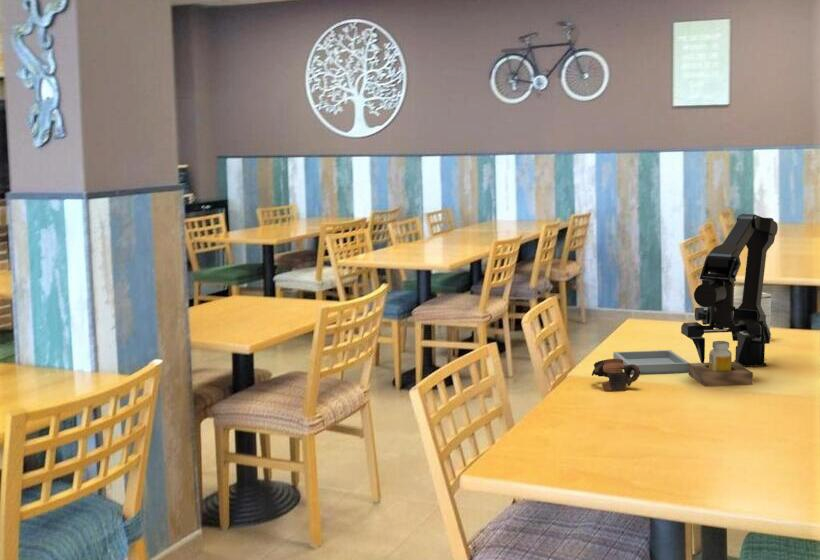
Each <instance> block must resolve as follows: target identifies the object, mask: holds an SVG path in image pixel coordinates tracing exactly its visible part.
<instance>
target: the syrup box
mask: <svg viewBox="0 0 820 560" xmlns="http://www.w3.org/2000/svg"><path fill="white" fill-rule="evenodd" d="M761 307H762V309H763V311H764V313H765V315H766V324H767V326H768V328H769V331H770V332H771V311H772V294H771V293H767V292H762V297H761ZM760 338H761V337H760Z"/></svg>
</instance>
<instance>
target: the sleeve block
mask: <svg viewBox="0 0 820 560" xmlns="http://www.w3.org/2000/svg"><path fill="white" fill-rule="evenodd" d="M688 376H690V377H691V378H693V379H694V380H696V382H698V383H700V384H701V385H702V386H704V387H721V386H743V385H744V386H749V385H754V384H753V379H754V372H752V371H751V370H749V368H746V367H745V366H742V365H740V364H739V363H737V362H735V361H731V371H711V370H710V369H709V362H704V363H701V362H689V373H688Z"/></svg>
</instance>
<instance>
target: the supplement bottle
mask: <svg viewBox="0 0 820 560" xmlns="http://www.w3.org/2000/svg"><path fill="white" fill-rule="evenodd" d="M711 347H712V349H710V351H709V354H708V355H709V357H708V358H709V359H708V363H709V369H710V370H711V371H731V362H732V359H733V358H732V355H733V354H732V352H731V350H729V349H730V342H728V341H726V340H714V341H712V346H711Z"/></svg>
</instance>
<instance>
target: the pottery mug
mask: <svg viewBox="0 0 820 560" xmlns="http://www.w3.org/2000/svg"><path fill="white" fill-rule="evenodd" d="M593 367H594V368H593V370H592V373H591V376H592V377H593V376H597V377H600V378H601V377H604V378H608V380H607V381H604V382H602V383H601V385H602V389H603V392H609V391H627V386H628V387H630V386H631V385H632V383H634V382H636V381H637V380H638V379H639V377H640V376H641V374H640V373H641V372H640V371H639V367H638V366H636V365H634V364H630V365H624V364H623V360H621V359H613V358H608V359H603V360H600V361H596V362H594V364H593ZM623 369H624V370H623ZM632 370H634V375H632V376H631V375H630V373H631V371H632Z"/></svg>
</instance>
